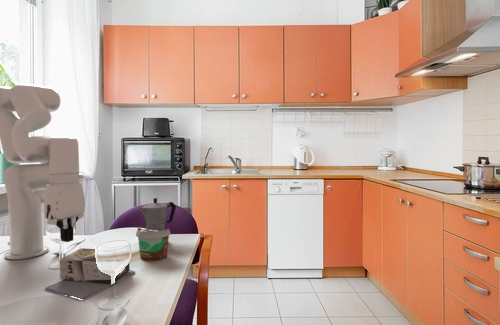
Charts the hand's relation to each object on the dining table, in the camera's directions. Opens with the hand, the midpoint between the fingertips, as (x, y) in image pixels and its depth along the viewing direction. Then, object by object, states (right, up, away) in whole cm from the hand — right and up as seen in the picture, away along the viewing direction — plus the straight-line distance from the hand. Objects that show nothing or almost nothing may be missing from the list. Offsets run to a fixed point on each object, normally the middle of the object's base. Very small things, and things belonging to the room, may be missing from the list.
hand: (67, 240), depth 92 cm
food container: (+20, -10, +14) cm, 26 cm away
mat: (+9, -11, -3) cm, 14 cm away
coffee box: (+1, -7, 0) cm, 7 cm away
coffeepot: (+18, -9, +30) cm, 36 cm away
